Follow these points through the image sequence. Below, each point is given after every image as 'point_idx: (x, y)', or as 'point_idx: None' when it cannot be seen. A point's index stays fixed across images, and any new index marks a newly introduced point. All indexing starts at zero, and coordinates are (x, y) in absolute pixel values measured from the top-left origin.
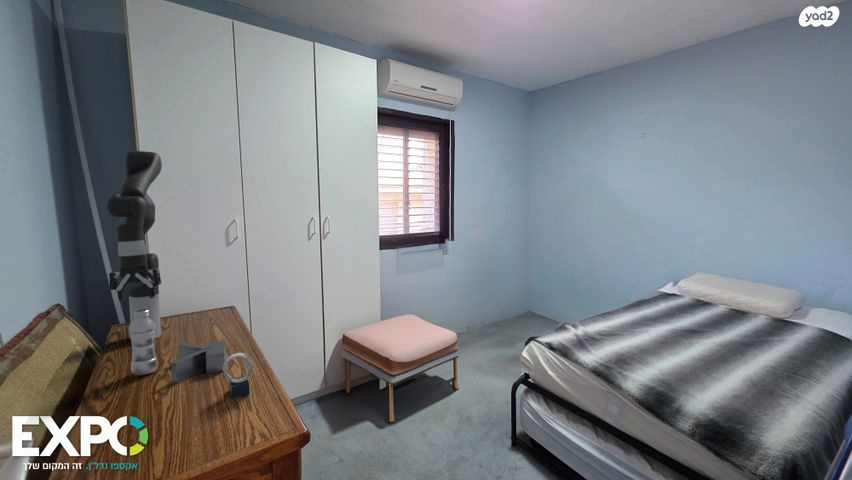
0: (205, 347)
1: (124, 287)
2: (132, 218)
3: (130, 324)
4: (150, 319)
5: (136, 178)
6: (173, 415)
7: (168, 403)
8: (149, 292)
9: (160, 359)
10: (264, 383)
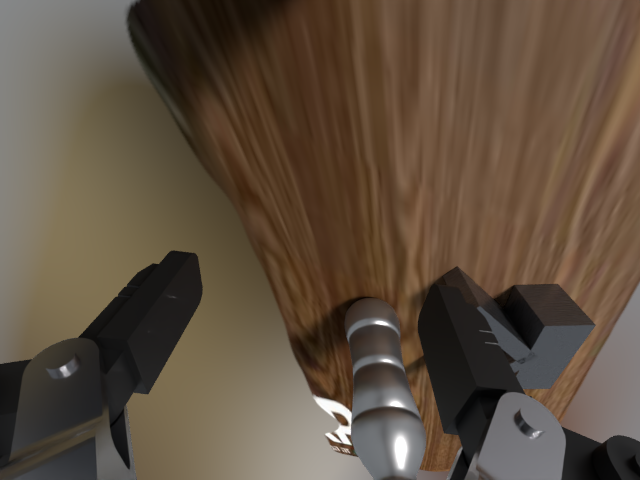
0: (523, 354)
1: (100, 370)
2: None
3: (358, 455)
4: (419, 466)
5: None
6: (423, 422)
7: (417, 402)
8: (433, 379)
9: (395, 241)
10: (559, 398)
